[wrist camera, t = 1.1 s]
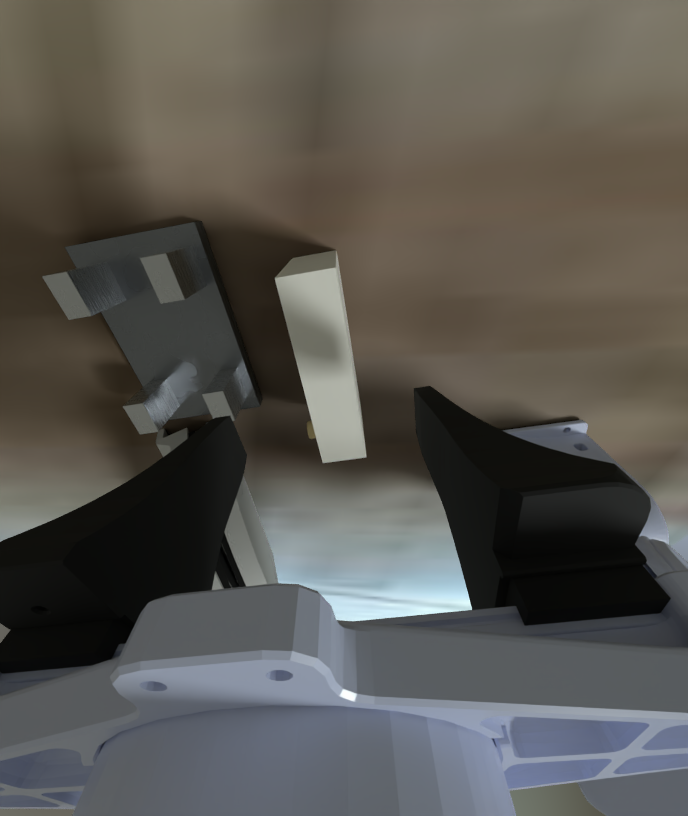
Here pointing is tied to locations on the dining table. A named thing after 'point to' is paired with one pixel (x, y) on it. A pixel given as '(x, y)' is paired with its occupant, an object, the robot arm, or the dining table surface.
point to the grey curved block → (235, 535)
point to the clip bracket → (164, 321)
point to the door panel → (323, 353)
